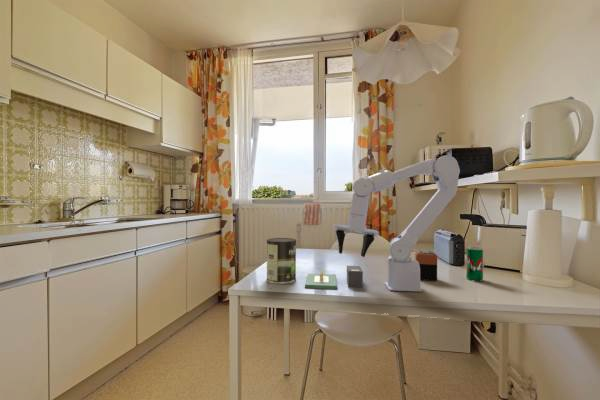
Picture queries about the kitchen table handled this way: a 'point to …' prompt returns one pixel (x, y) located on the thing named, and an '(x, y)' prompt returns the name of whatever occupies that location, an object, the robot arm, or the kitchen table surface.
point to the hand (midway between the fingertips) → (351, 254)
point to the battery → (427, 265)
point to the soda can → (474, 262)
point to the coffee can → (281, 260)
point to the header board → (321, 281)
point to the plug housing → (354, 276)
